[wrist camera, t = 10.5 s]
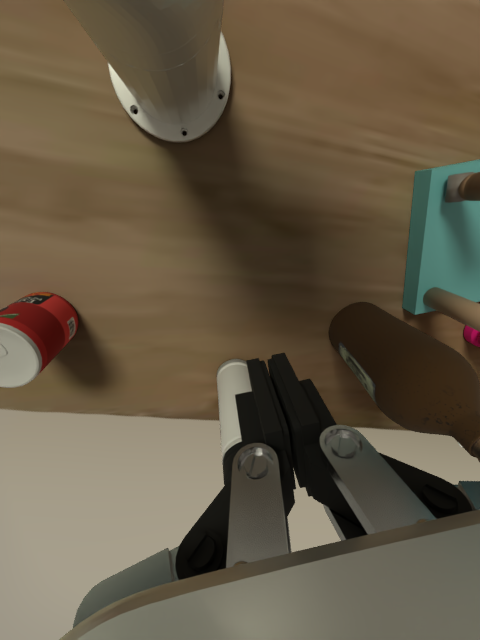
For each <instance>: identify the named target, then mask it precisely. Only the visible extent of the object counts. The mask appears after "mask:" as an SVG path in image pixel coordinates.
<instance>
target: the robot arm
mask: <svg viewBox="0 0 480 640" xmlns="http://www.w3.org/2000/svg"><path fill="white" fill-rule="evenodd" d="M63 1H64V2H65V3H66V5H67V6H68V7H69V9H70V10H71V12H72V13H73V14H74V16H75V17H76V18H77V20H78V21H79V22H80V24H81V26H82V27H83V28H84V30H85V31H86V32H87V34H88V35H89V36H90V38H91V39H92V41H93V42H94V43H95V45H96V46H97V48H98V49H99V50H100V52H101V53H102V54H103V56H104V57H105V59H106V60H107V61H108V68H109V73H110V78H111V82H112V84H113V87H114V90H115V93H116V95H117V97H118V99H119V101H120V102H121V104H122V106H123V108H124V109H125V110H126V112H127V113H128V114H129V116H130V117H131V118H132V119H133V120H134V121H135V122H136V123H137V124H138V125H139V126H140V127H141V128H142V129H144V130H145V131H146V132H147V133H149V134H151V135H153V136H155V137H156V138H159V139H162V140H165V141H168V142H177V143H180V142H189V141H192V140H194V139H197V138H199V137H201V136H202V135H204V134H206V133H207V132H208V131H209V130H210V129H211V128H212V127H213V126H214V125H215V124H216V123H217V121H218V120H219V118H220V117H221V115H222V113H223V110H224V108H225V106H226V103H227V100H228V96H229V91H230V84H231V65H230V58H229V52H228V48H227V45H226V42H225V38H224V36H223V34H222V32H221V25H222V14H223V4H224V0H63ZM219 95H222V96H223V99H219V98H218V96H219ZM135 109H136V110H138V113H137V114H134V110H135ZM184 131H186V132H187V135H186V136H183V134H182V133H183V132H184ZM246 363H247V368H248V373H249V379H250V384H251V389H252V391H250V392H245V393H240V394H236V395H235V399H236V406H237V413H238V420H239V426H240V433H241V440H242V448H241V449H240V450H239V451H238V452H237V454H236V455H235V457H234V460H233V464H232V477H231V478H230V480H229V481H228V482H227V484H226V485H225V486H224V487H223V489H222V490H221V491H220V493H219V494H218V495H217V496H216V498H215V499H214V500H213V502H212V503H211V504H210V505H209V507H208V508H207V509H206V511H205V512H204V513H203V514H202V516H201V517H200V518H199V520H198V521H197V522H196V523H195V525H194V526H193V527H192V528H191V530H190V531H189V533H188V534H187V535H186V536H185V538H184V539H183V541H182V543H181V544H180V546H178V547H176V548H174V549H172V550H170V551H169V549H168V548H166V549H164V550H162V551H160V552H159V553H156V554H154V555H152V556H150V557H149V558H147V559H145V560H142V561H141V562H139V563H137V564H135V565H133V566H131V567H129V568H127V569H125V570H123V571H121V572H119V573H117V574H115V575H113V576H111V577H109V578H107V579H105V580H103V581H101V582H100V583H99V584H97V585H96V586H94V587H93V588H92V589H91V590H90V591H89V593H88V594H87V595H86V596H85V598H84V599H83V601H82V603H81V604H80V606H79V608H78V610H77V613H76V617H75V620H74V624H73V629H72V630H70V631H69V632H68V633H67V634H65V635H64V636H63V637H62V638H60V639H59V640H480V481H459V483H458V485H453V484H451V483H449V482H447V481H445V480H444V479H442V478H439V477H437V476H434V475H432V474H429V473H427V472H425V471H422V470H419V469H417V468H415V467H412V466H410V465H408V464H405V463H403V462H400V461H398V460H396V459H393V458H391V457H388V456H386V455H383V454H381V453H378V452H377V451H376V449H375V448H374V447H373V446H372V445H371V444H370V443H369V442H368V440H367V439H366V438H365V437H364V436H363V435H362V434H361V433H360V432H359V431H357V430H355V429H354V428H352V427H349V426H345V425H337V424H336V423H335V421H334V419H333V417H332V416H331V414H330V412H329V410H328V409H327V407H326V405H325V403H324V402H323V400H322V398H321V396H320V395H319V393H318V391H317V389H316V388H315V386H314V384H313V382H312V381H311V380H310V379H307V380H302V381H298V379H297V377H296V375H295V373H294V371H293V369H292V367H291V365H290V363H289V361H288V359H287V357H286V355H285V353H281V354H276V355H272V359H268V367H269V373H268V370H267V367H266V364H265V362H264V361H259V358H257V359H252V360H247V361H246ZM269 374H270V376H269ZM293 468H294V470H293ZM294 471H295V474H296V477H297V480H298V483H299V486H300V488H302V487H306V490H307V493H308V496H313V498H314V499H315V500H317V501H318V502H321V503H322V504H323V505H324V508H325V511H326V513H327V515H328V517H329V519H330V521H331V523H332V524H333V526H334V528H335V530H336V532H337V534H338V536H339V537H340V539H341V541H339V542H335V543H330V544H326V545H322V546H318V547H313V548H309V549H305V550H301V551H296V552H292V553H291V545H290V536H289V527H288V519H287V516H288V514H289V513H290V511H291V508H292V507H293V505H294V503H295V500H294V492H293V489H296V487H295V478H294Z"/></svg>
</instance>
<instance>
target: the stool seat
mask: <svg viewBox="0 0 480 640" xmlns="http://www.w3.org/2000/svg"><path fill="white" fill-rule="evenodd" d="M467 172H474V173H477V172H480V159H479V160H474V161H468V162H463V163H458V164H452V165H447V166H442V167H436V168H431V169H426V170H420V171H415V179H414V189H413V200H412V210H411V221H410V231H409V242H408V252H407V263H406V273H405V284H404V294H403V305H402V308H404V309H405V310H407V311H409V312H411V313H412V314H414V315H417V314H421V313H426V312H431V311H436V310H437V311H439V312H441V313H443V314H445V315H447V316H449V317H451V318H453V319H455V320H457V321H459V322H461V323H463V324H465V325H467V326H469V327H471V328H473V329H475V330H477V331H479V332H480V304H479V303H476V302H480V201H462V202H451V203H446V202H445V196H446V189H447V182H448V176H449V175H453V174H460V173H467Z"/></svg>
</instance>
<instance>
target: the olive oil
mask: <svg viewBox="0 0 480 640" xmlns="http://www.w3.org/2000/svg"><path fill="white" fill-rule="evenodd" d="M329 337H330V341H331V343H332V345H333V346H334V347H335V349H336V350H337V351H338V353H339V354H340V355H341V357H342V358H343V359H344V361H345V362H346V363H347V364H348V366H349V367H350V369H351V370H352V371H353V373H354V374H355V375H356V377H357V378H358V379H359V381H360V382H361V383H362V385H363V386H364V388H365V389H366V390H367V392H368V393H369V395H370V396H371V397H372V399H373V400H374V402H375V403H376V404H377V406H378V407H379V408H380V410H381V411H382V412H383V413H384V414H385V415H386V416H387V417H389V418H390V419H391V420H393V421H394V422H396V423H397V424H399V425H400V426H402V427H404V428H406V429H409V430H412V431H415V432H420V433H429V434H439V435H448V436H452V437H454V438H455V439H456V440H457V442H458V443H459V444H460V445H461V446H462V447H463V448H465V450H466V451H467V452H468V453H469V454H470V455H471V456H473V457H477V458H478V460H479V462H480V385H479V380H478V377H477V375H476V373H475V371H474V369H473V368H472V367H471V365H470V364H469V363H468V362H467V360H466V359H465V358H464V357H463V356H462V355H461V354H459V353H458V352H457V351H455V350H454V349H452V348H451V347H449V346H447V345H445V344H443V343H442V342H440V341H438V340H436V339H434V338H432V337H430V336H428V335H427V334H425V333H423V332H421V331H419V330H417V329H416V328H414V327H412V326H410V325H408V324H407V323H405V322H403V321H401V320H399V319H398V318H396V317H394V316H392V315H391V314H389V313H387V312H385V311H384V310H382V309H380V308H379V307H377V306H375V305H373V304H371V303H367V302H358V303H354V304H351V305H349V306H347V307H345V308H343V309H342V310H341V311H340V312H339V313H338V314H337V315H336V316H335V317H334V319H333V321H332V323H331V325H330V329H329Z"/></svg>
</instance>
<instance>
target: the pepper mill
mask: <svg viewBox="0 0 480 640" xmlns="http://www.w3.org/2000/svg"><path fill="white" fill-rule="evenodd" d="M464 338H465V339H466V340H467V341H468V342H470V343H472V344H473V345H475V346H478V347H480V332H479V331H477V330H475V329H473V328H471V327H469V326H467V325H466V326H465V329H464Z"/></svg>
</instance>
